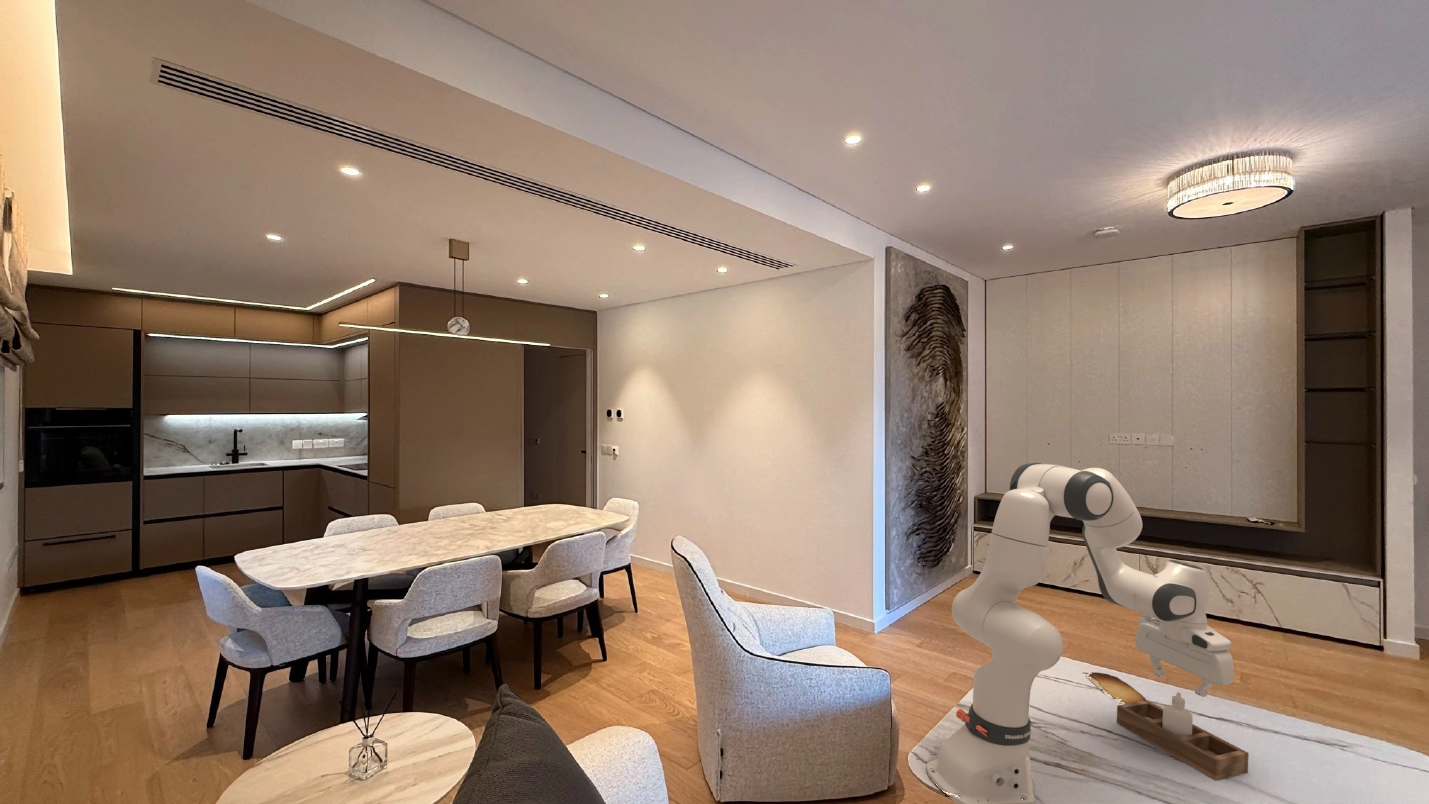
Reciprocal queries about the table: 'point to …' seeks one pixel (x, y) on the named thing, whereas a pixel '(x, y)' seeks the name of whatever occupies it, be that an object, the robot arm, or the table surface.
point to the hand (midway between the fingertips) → (1179, 685)
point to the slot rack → (1184, 742)
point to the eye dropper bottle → (1177, 717)
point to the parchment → (1115, 687)
